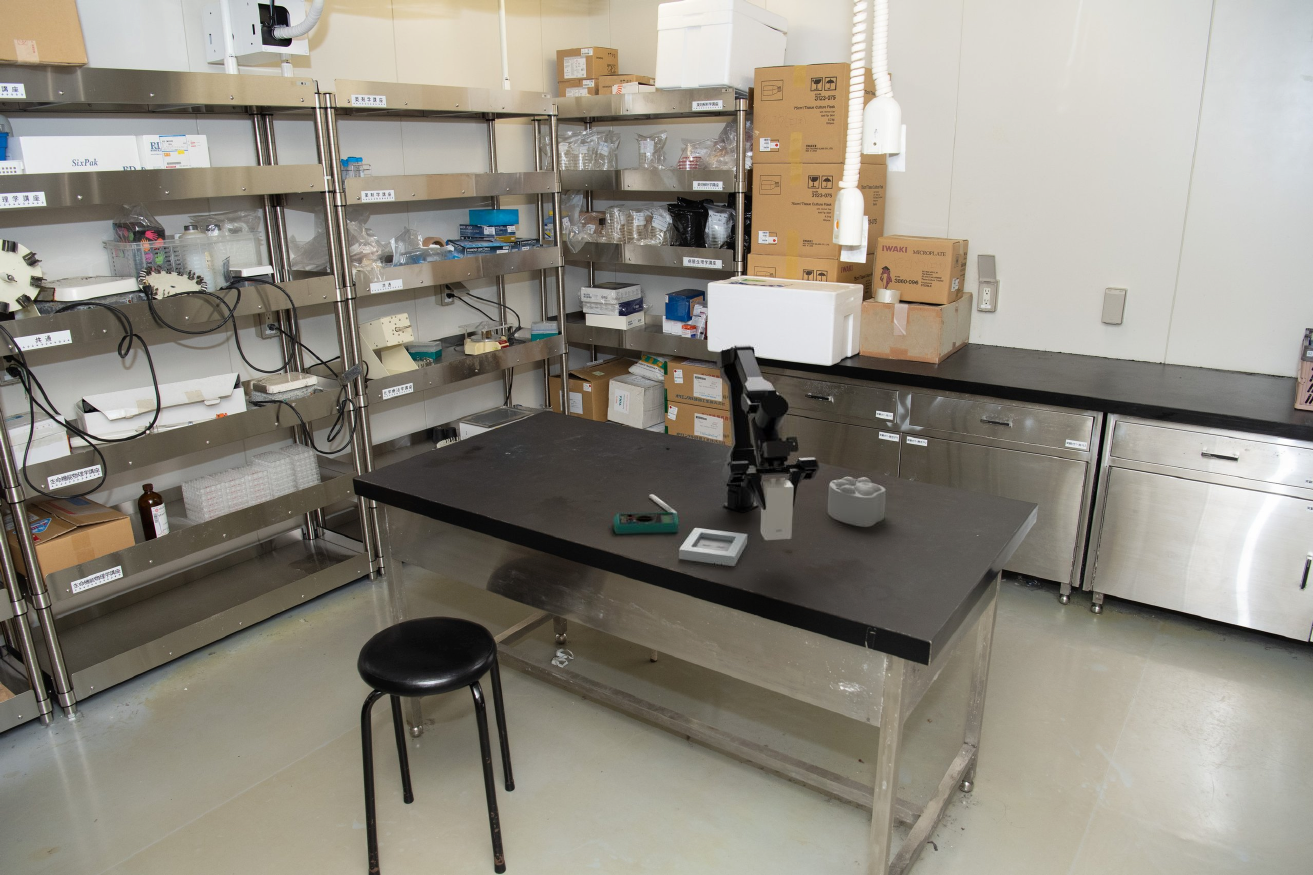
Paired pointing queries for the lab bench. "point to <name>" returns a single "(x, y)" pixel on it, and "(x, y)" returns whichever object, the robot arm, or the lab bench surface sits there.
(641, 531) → the digital multimeter
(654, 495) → the white rod
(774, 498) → the adapter
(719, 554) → the outlet plate
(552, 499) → the lab bench surface
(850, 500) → the lumpy-topped squat cylinder
